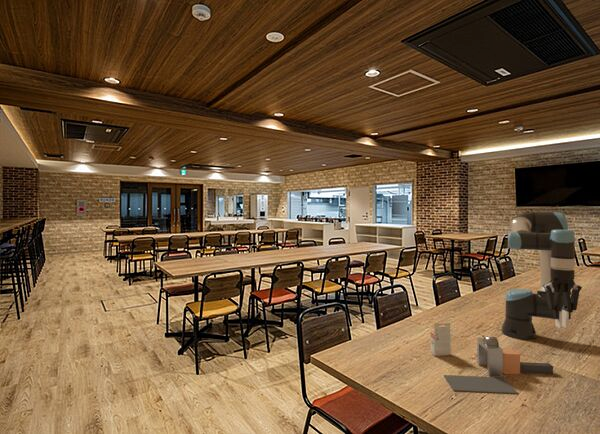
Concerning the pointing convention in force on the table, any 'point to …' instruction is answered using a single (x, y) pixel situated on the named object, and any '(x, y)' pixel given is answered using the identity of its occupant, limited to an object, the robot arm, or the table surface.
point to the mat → (480, 384)
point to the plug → (522, 364)
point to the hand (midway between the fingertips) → (561, 327)
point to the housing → (490, 356)
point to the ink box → (441, 340)
